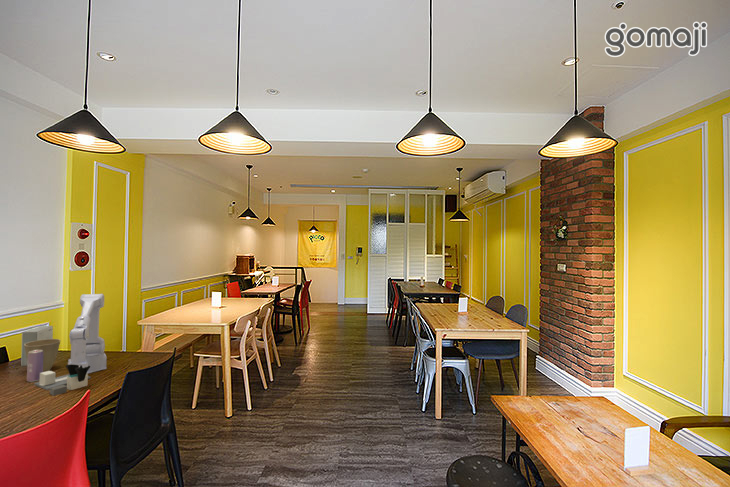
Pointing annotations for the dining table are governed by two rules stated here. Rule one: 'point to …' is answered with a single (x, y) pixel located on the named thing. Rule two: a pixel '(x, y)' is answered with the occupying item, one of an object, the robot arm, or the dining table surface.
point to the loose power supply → (58, 390)
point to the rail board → (51, 380)
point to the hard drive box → (35, 338)
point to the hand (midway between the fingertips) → (77, 379)
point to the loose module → (76, 382)
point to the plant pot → (44, 351)
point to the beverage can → (34, 365)
